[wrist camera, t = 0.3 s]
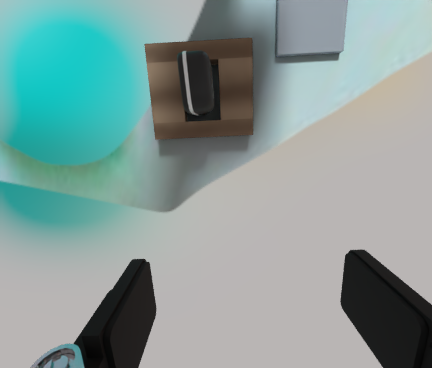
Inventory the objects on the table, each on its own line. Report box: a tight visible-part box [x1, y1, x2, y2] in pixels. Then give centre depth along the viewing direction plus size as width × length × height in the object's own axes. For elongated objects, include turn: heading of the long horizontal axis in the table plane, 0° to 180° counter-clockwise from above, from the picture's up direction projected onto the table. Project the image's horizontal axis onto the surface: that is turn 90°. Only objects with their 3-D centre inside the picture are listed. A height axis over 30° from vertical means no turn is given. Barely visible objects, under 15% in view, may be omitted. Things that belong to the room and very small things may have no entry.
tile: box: [276, 0, 348, 57], centre depth 32 cm, size 10×10×1 cm
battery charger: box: [177, 51, 215, 116], centre depth 30 cm, size 7×4×11 cm, turn 5°
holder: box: [145, 38, 253, 140], centre depth 34 cm, size 14×16×3 cm
